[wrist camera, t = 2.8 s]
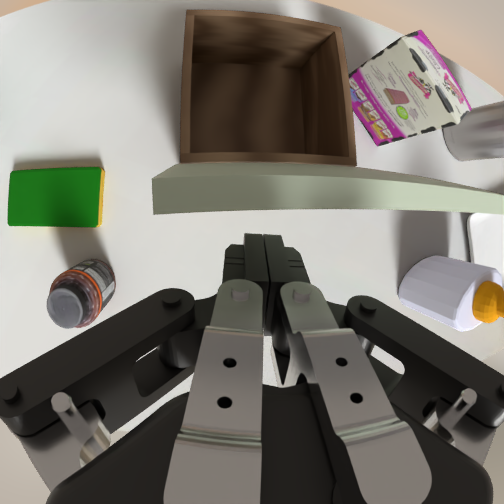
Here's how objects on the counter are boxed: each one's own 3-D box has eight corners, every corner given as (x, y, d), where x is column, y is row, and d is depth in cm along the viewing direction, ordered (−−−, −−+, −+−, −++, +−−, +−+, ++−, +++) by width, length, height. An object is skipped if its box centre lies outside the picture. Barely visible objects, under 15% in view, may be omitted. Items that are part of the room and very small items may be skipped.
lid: (510, 196, 11) (508, 215, 11) (360, 167, 26) (359, 177, 27) (152, 178, 8) (153, 214, 8) (175, 164, 23) (175, 176, 23)
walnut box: (301, 68, 36) (340, 27, 24) (308, 177, 38) (356, 166, 26) (184, 61, 32) (186, 9, 21) (182, 178, 35) (180, 162, 23)
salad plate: (464, 314, 49) (475, 319, 46) (456, 214, 45) (470, 215, 42) (509, 276, 53) (519, 279, 49) (503, 191, 49) (514, 191, 45)
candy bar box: (395, 132, 40) (474, 110, 24) (376, 147, 40) (458, 127, 24) (354, 72, 37) (422, 27, 21) (332, 85, 37) (401, 36, 21)
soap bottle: (399, 317, 45) (491, 366, 25) (393, 272, 43) (497, 307, 23) (449, 287, 47) (535, 316, 27) (446, 245, 45) (539, 264, 25)
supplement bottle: (89, 311, 34) (57, 347, 23) (67, 270, 33) (27, 293, 22) (125, 292, 35) (102, 324, 24) (103, 250, 34) (70, 266, 23)
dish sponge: (18, 172, 30) (10, 170, 28) (106, 169, 33) (100, 166, 31) (15, 224, 31) (7, 226, 29) (102, 226, 34) (97, 227, 32)
